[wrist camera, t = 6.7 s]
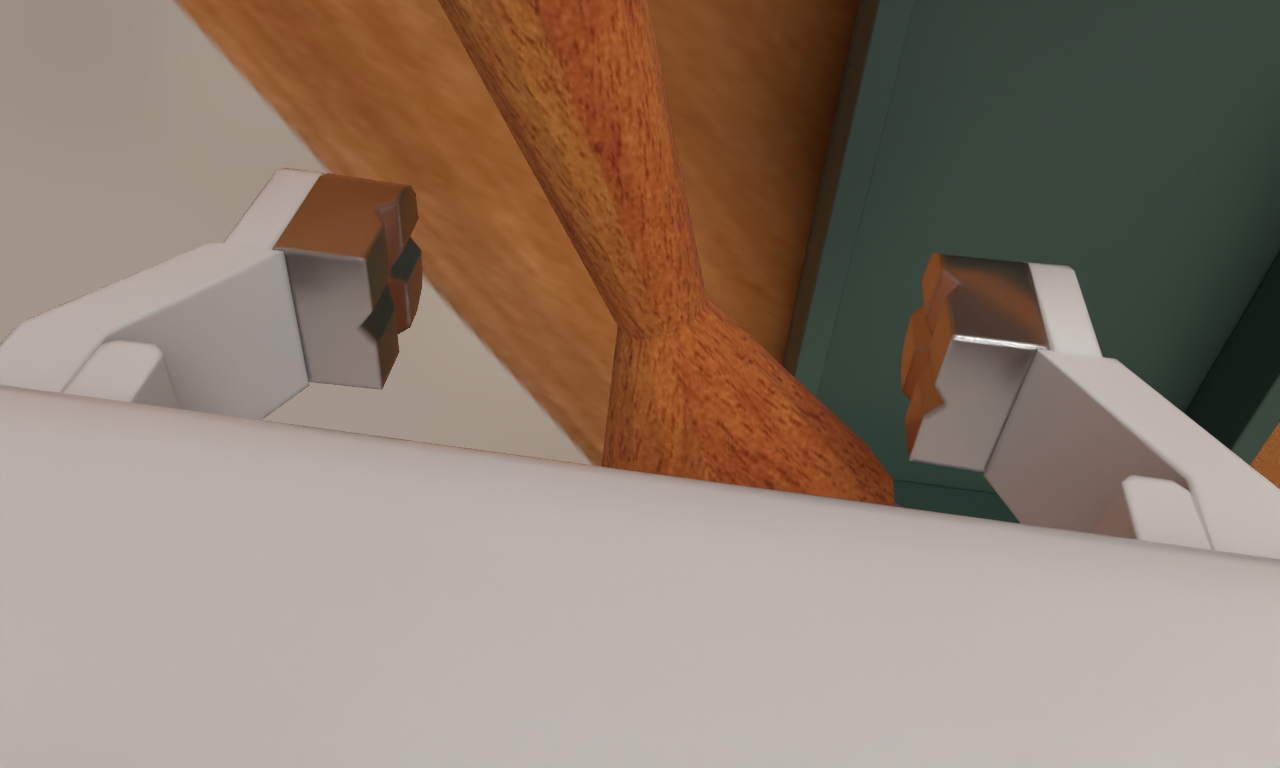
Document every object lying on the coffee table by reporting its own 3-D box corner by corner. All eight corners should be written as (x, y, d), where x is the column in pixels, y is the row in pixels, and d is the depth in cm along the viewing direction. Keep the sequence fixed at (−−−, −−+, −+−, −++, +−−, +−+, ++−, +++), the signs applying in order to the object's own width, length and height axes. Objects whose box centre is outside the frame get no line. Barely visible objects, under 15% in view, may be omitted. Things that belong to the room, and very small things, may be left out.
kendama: (648, -1802, 4) (1082, 921, 15) (614, -983, 9) (959, 607, 20) (-625, -1033, 5) (676, 1003, 16) (-6, -679, 10) (655, 682, 21)
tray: (945, -407, 21) (965, -383, 18) (1647, -339, 20) (1772, -304, 18) (760, 464, 38) (756, 541, 36) (1137, 515, 38) (1162, 597, 35)
